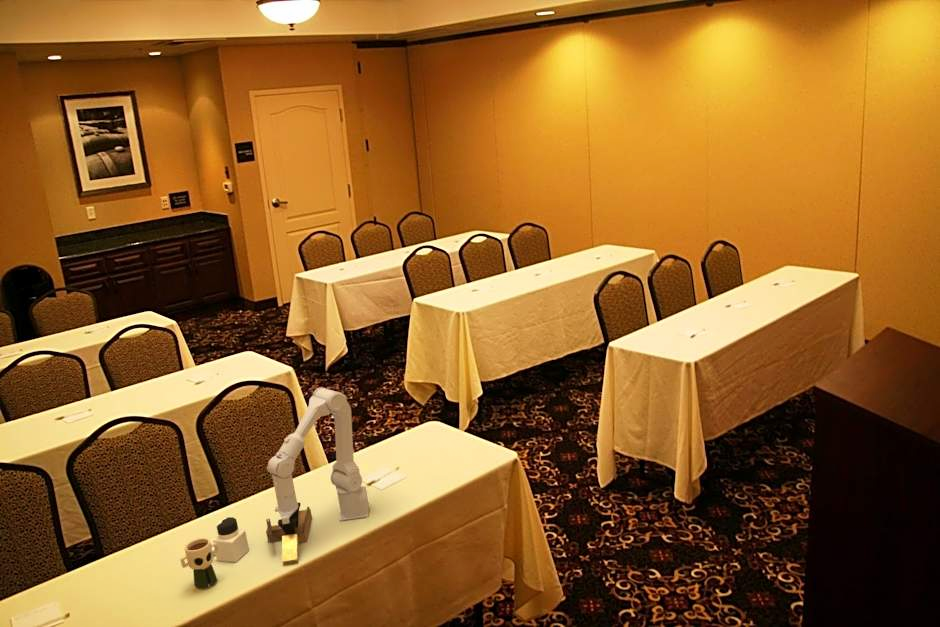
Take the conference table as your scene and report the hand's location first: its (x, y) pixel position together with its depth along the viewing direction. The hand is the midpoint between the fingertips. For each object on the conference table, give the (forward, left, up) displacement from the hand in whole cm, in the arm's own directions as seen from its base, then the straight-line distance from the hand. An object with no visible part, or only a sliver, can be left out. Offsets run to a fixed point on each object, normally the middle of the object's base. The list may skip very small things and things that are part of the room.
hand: (293, 533), depth 241 cm
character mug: (+24, +15, -4) cm, 29 cm away
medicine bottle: (+19, +1, -4) cm, 19 cm away
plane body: (+3, -8, -4) cm, 9 cm away
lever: (+7, 0, 0) cm, 7 cm away
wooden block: (0, +7, -1) cm, 8 cm away
